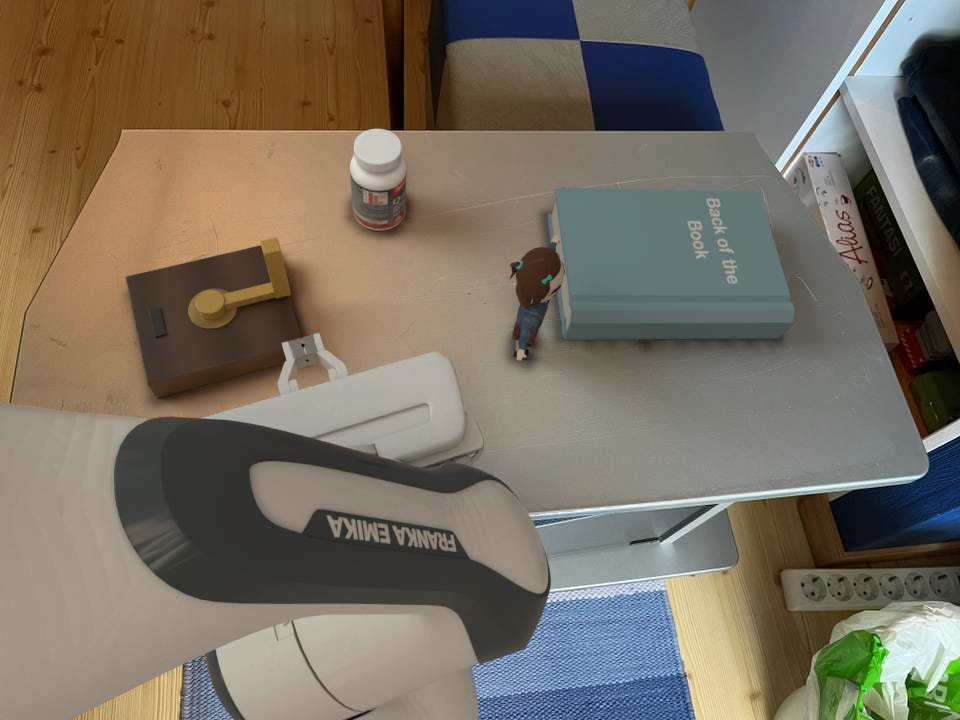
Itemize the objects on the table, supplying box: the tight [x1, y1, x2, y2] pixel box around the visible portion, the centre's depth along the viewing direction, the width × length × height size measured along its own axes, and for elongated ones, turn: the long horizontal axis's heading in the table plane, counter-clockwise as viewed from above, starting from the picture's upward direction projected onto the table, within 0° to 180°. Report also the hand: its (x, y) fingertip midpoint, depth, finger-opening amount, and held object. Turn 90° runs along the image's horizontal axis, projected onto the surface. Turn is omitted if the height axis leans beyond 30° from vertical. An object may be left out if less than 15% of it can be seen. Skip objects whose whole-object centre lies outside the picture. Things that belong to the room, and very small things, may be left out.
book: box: [546, 187, 795, 341], centre depth 78 cm, size 23×16×5 cm
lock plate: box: [125, 244, 303, 399], centre depth 71 cm, size 14×12×3 cm
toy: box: [509, 235, 565, 362], centre depth 68 cm, size 14×5×15 cm, turn 164°
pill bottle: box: [349, 128, 407, 232], centre depth 77 cm, size 6×6×10 cm
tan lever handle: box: [195, 237, 292, 320], centre depth 67 cm, size 9×3×7 cm, turn 111°
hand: (301, 340), depth 57 cm, fingers closed
